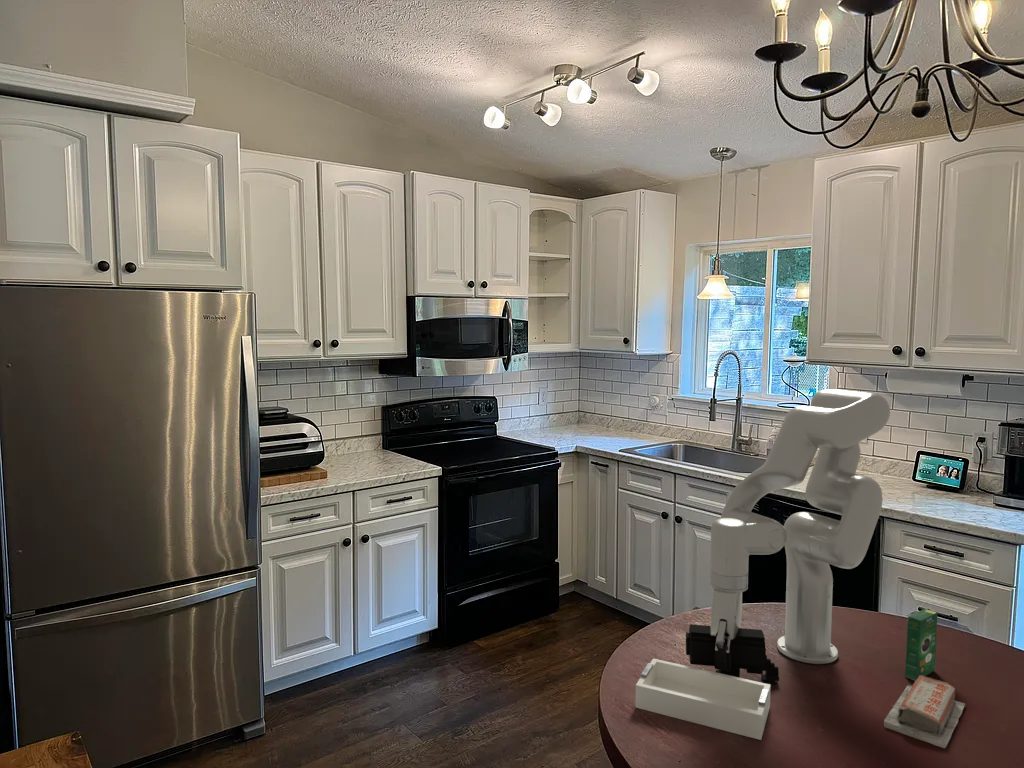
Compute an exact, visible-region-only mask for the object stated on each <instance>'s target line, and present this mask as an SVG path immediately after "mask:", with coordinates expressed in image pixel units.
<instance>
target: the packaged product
mask: <svg viewBox="0 0 1024 768" xmlns="http://www.w3.org/2000/svg"><path fill="white" fill-rule="evenodd" d="M955 698H956V688H955V686H953V685H951V684H950V683H949V682H946V681H942V680H938V679H935V678H933V677H928V676H921V675H919V677H918V678H917V680H916V681H915V680H914V683H913V684H906V687H905V689H904V690H903V691H902V693H901V694H900V696H899V698H898V699H897V700H896V701H895V703H894V705H893V706H892V708H891V709H890V710H889V712H888V714H887V715H886V717H885V718H884V720H883V726H884V728H886V729H889V730H892V731H894V732H898V733H899V734H902V735H904V736H908V737H911V738H914V739H917V740H919V741H922V742H926V743H927V744H928V743H929V744H931V745H933V746H937V747H940V748H943V749H946V747H947V746H948V744H949V742H950V741H951V738H952V734H953V732H954V730H955V729H956V727H957V725H958V724H959V718H961V715H962V714H963V712H964V711H963V710H964V708H965V706H966V703H965V702H961V701H957V700H955Z"/></svg>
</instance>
